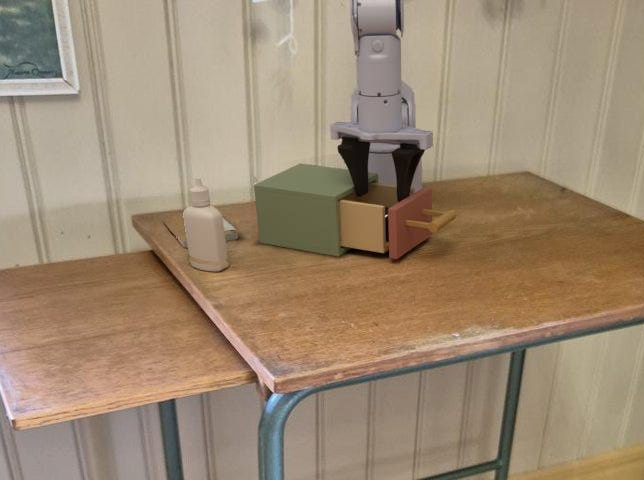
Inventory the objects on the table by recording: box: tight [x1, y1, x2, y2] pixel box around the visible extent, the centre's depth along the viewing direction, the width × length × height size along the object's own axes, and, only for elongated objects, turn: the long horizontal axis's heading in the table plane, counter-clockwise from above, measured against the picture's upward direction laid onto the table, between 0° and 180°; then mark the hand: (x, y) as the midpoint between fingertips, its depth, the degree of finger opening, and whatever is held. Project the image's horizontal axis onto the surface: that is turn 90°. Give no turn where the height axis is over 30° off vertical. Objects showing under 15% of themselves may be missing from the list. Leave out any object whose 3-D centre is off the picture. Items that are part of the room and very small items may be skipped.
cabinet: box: [253, 162, 378, 258], centre depth 131 cm, size 13×12×8 cm
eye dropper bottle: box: [183, 176, 229, 273], centre depth 121 cm, size 4×6×12 cm
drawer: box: [338, 182, 457, 260], centre depth 126 cm, size 17×11×7 cm, turn 61°
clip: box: [382, 205, 389, 242], centre depth 127 cm, size 5×4×3 cm
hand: (382, 197), depth 125 cm, fingers open, 6 cm apart
